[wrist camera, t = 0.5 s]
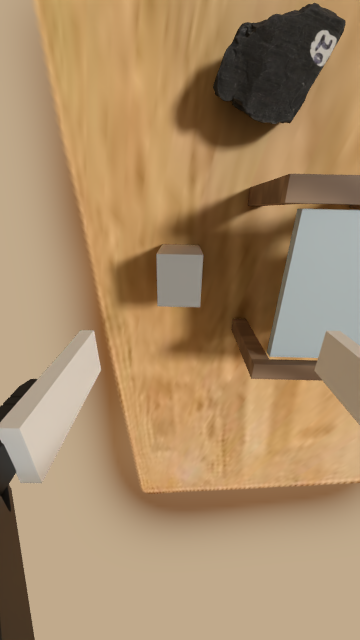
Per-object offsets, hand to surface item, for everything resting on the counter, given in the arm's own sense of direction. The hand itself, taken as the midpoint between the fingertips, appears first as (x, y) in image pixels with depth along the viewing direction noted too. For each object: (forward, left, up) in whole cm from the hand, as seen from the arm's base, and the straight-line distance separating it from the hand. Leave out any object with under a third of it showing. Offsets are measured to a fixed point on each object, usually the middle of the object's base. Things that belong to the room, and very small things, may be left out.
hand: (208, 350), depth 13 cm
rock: (-19, +7, -22) cm, 30 cm away
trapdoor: (0, +16, -13) cm, 21 cm away
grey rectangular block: (0, -2, -22) cm, 22 cm away
